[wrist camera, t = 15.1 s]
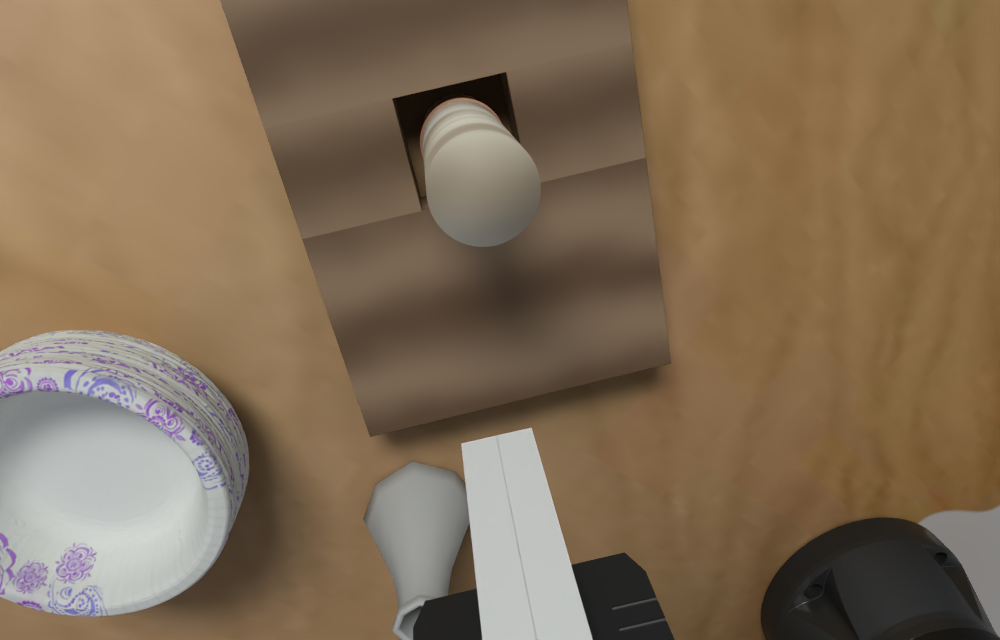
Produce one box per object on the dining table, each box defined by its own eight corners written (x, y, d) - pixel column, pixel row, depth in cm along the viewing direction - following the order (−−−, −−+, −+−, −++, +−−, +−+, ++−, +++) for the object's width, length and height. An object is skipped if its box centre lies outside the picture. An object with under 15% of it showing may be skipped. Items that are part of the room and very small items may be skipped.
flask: (497, 494, 47) (518, 609, 37) (432, 565, 48) (437, 692, 39) (409, 442, 44) (408, 552, 35) (344, 519, 46) (327, 642, 37)
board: (654, 341, 43) (670, 363, 41) (372, 410, 43) (370, 436, 40) (597, -95, 33) (613, -105, 31) (231, -11, 33) (215, -14, 30)
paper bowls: (-8, 512, 43) (-94, 612, 35) (-18, 283, 37) (-122, 346, 30) (249, 538, 46) (219, 635, 38) (275, 329, 40) (245, 397, 33)
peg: (505, 162, 38) (553, 234, 25) (430, 180, 38) (439, 261, 25) (488, 83, 36) (531, 117, 23) (410, 101, 36) (409, 145, 23)
